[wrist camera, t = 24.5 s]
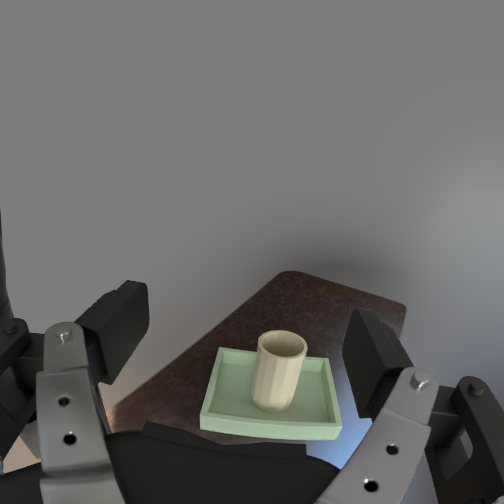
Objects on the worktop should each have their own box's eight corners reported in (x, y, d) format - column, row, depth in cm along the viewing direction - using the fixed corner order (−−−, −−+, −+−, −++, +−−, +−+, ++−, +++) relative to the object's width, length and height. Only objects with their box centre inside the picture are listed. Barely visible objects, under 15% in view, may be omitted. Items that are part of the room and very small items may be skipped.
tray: (200, 429, 31) (199, 415, 30) (218, 361, 45) (219, 346, 44) (335, 440, 31) (342, 427, 30) (323, 371, 44) (328, 358, 43)
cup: (248, 410, 35) (256, 356, 32) (252, 381, 41) (259, 327, 37) (293, 414, 35) (309, 361, 31) (292, 384, 40) (305, 332, 37)
